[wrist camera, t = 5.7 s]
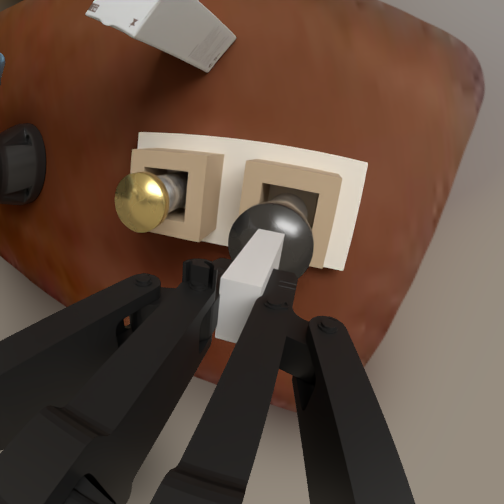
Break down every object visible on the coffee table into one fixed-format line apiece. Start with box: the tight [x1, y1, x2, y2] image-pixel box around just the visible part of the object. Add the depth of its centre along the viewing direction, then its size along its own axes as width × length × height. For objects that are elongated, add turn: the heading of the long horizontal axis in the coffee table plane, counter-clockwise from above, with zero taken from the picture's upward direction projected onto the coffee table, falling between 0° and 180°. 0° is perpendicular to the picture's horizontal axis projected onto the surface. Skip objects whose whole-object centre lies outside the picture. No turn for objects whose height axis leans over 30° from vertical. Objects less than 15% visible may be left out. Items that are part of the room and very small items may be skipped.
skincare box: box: [86, 0, 236, 73], centre depth 20 cm, size 8×6×15 cm
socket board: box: [130, 132, 368, 271], centre depth 29 cm, size 26×12×7 cm, turn 82°
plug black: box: [228, 193, 314, 278], centre depth 22 cm, size 5×5×9 cm
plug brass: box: [115, 171, 188, 233], centre depth 27 cm, size 5×5×9 cm
